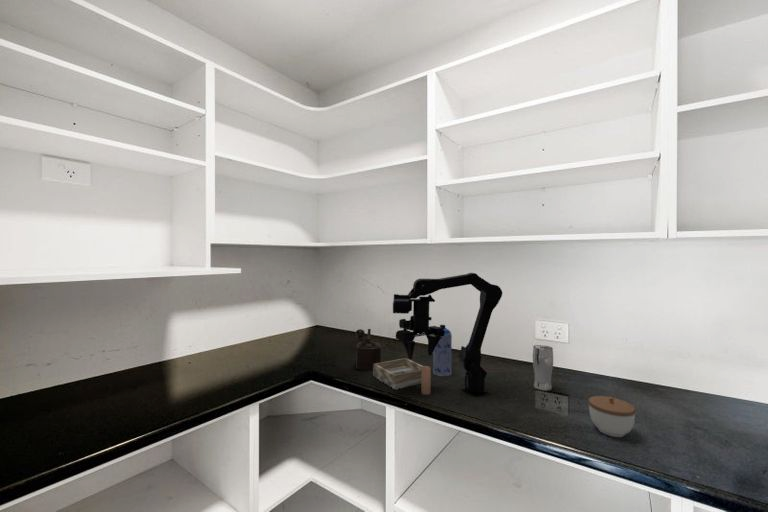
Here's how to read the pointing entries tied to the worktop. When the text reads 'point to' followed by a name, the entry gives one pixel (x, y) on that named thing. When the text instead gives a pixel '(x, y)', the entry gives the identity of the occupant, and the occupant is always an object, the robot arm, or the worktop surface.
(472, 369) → the robot arm
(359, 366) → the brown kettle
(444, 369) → the aerosol can
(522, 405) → the worktop surface
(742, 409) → the worktop surface
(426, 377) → the peg
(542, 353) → the beer glass
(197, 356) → the worktop surface
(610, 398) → the lidded jar
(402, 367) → the tray
